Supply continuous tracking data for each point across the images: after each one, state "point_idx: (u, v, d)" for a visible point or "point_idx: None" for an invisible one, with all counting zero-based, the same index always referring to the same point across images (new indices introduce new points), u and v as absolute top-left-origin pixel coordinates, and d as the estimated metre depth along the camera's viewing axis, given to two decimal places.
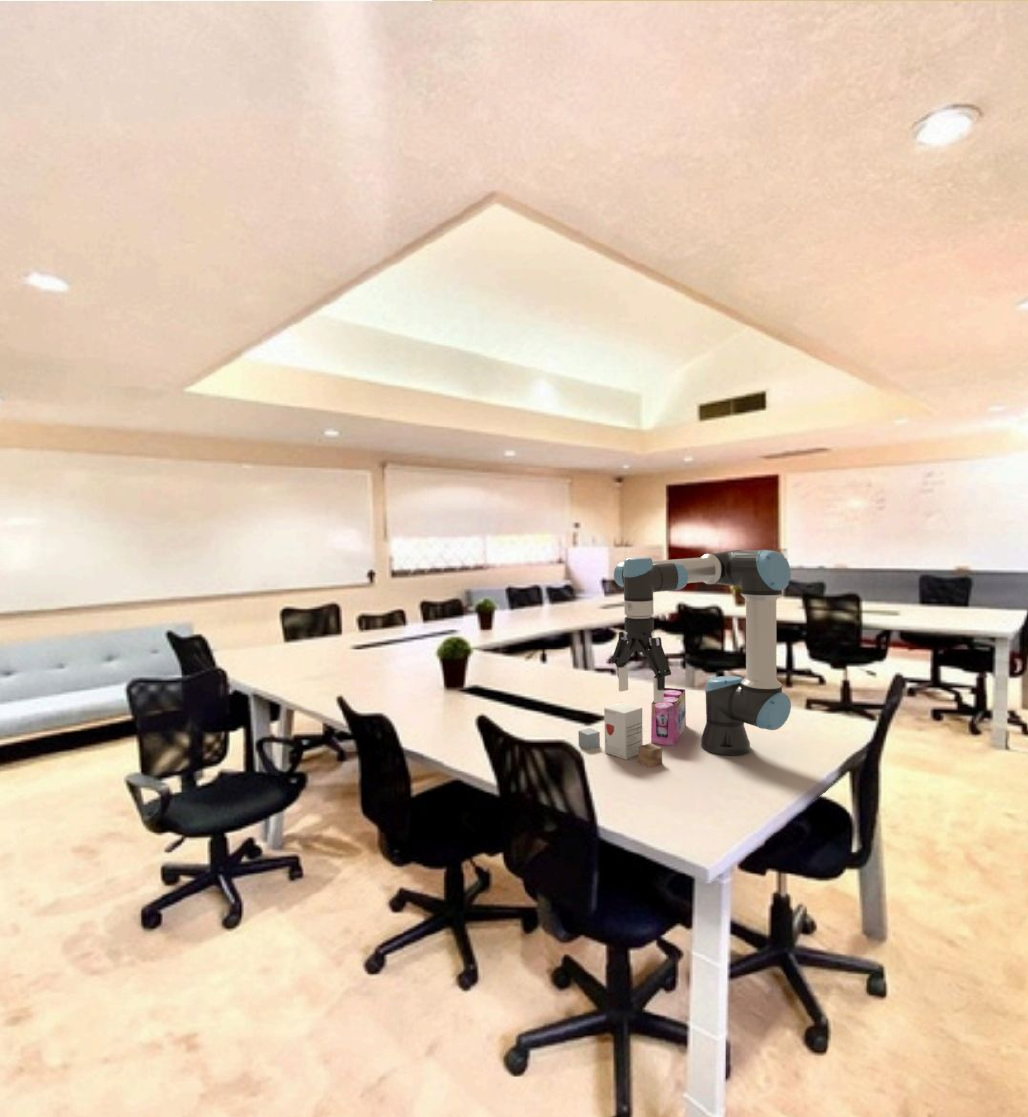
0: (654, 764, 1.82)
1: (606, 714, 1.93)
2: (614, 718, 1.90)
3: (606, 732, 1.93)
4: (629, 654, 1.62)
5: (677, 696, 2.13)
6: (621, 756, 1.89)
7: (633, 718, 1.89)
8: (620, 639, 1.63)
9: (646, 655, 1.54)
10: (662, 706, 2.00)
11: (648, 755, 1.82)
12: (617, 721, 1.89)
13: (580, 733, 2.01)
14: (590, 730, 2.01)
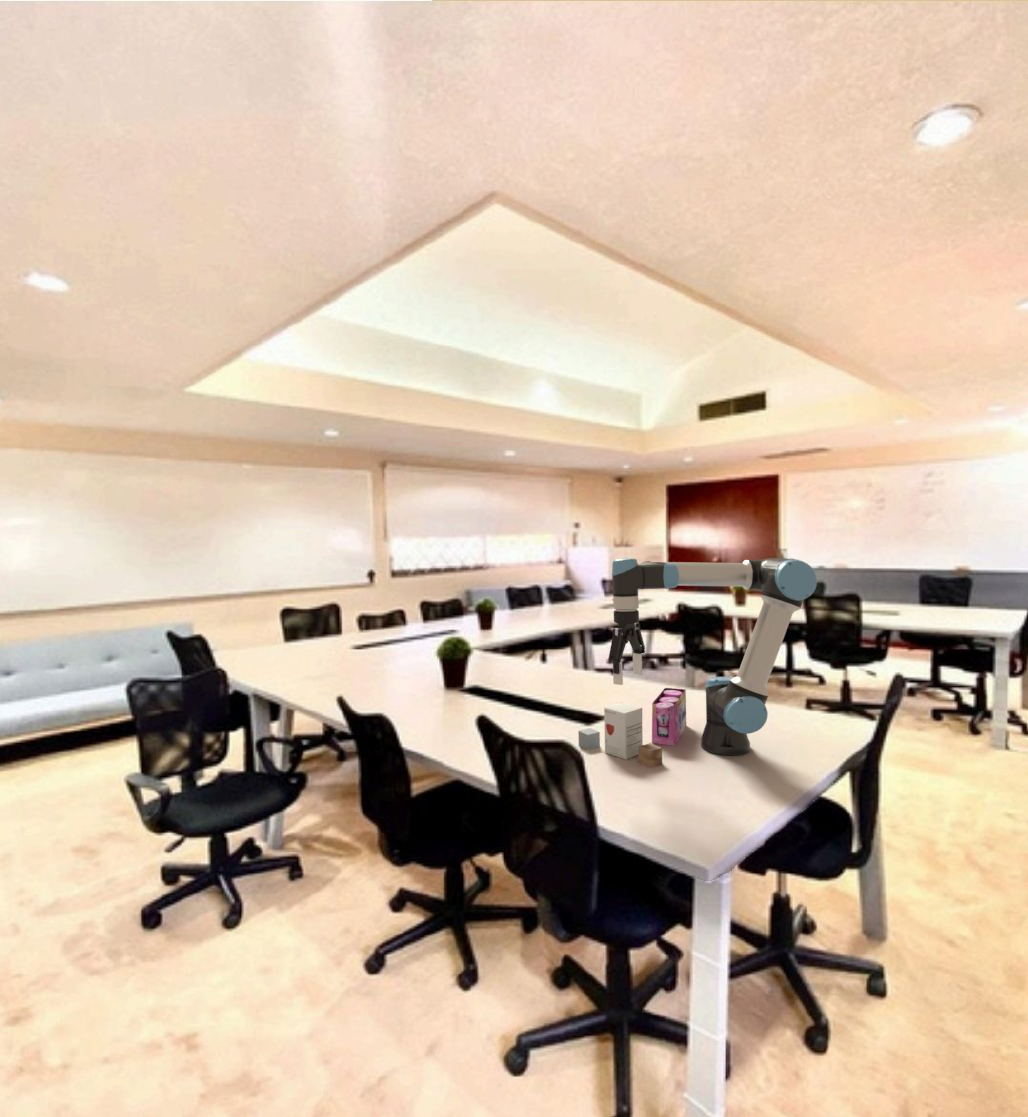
0: (654, 764, 1.82)
1: (606, 714, 1.93)
2: (614, 718, 1.90)
3: (606, 732, 1.93)
4: (634, 643, 1.85)
5: (677, 696, 2.13)
6: (621, 756, 1.89)
7: (633, 718, 1.89)
8: None
9: None
10: (663, 706, 2.00)
11: (648, 755, 1.82)
12: (617, 721, 1.89)
13: (580, 733, 2.00)
14: (590, 730, 2.01)
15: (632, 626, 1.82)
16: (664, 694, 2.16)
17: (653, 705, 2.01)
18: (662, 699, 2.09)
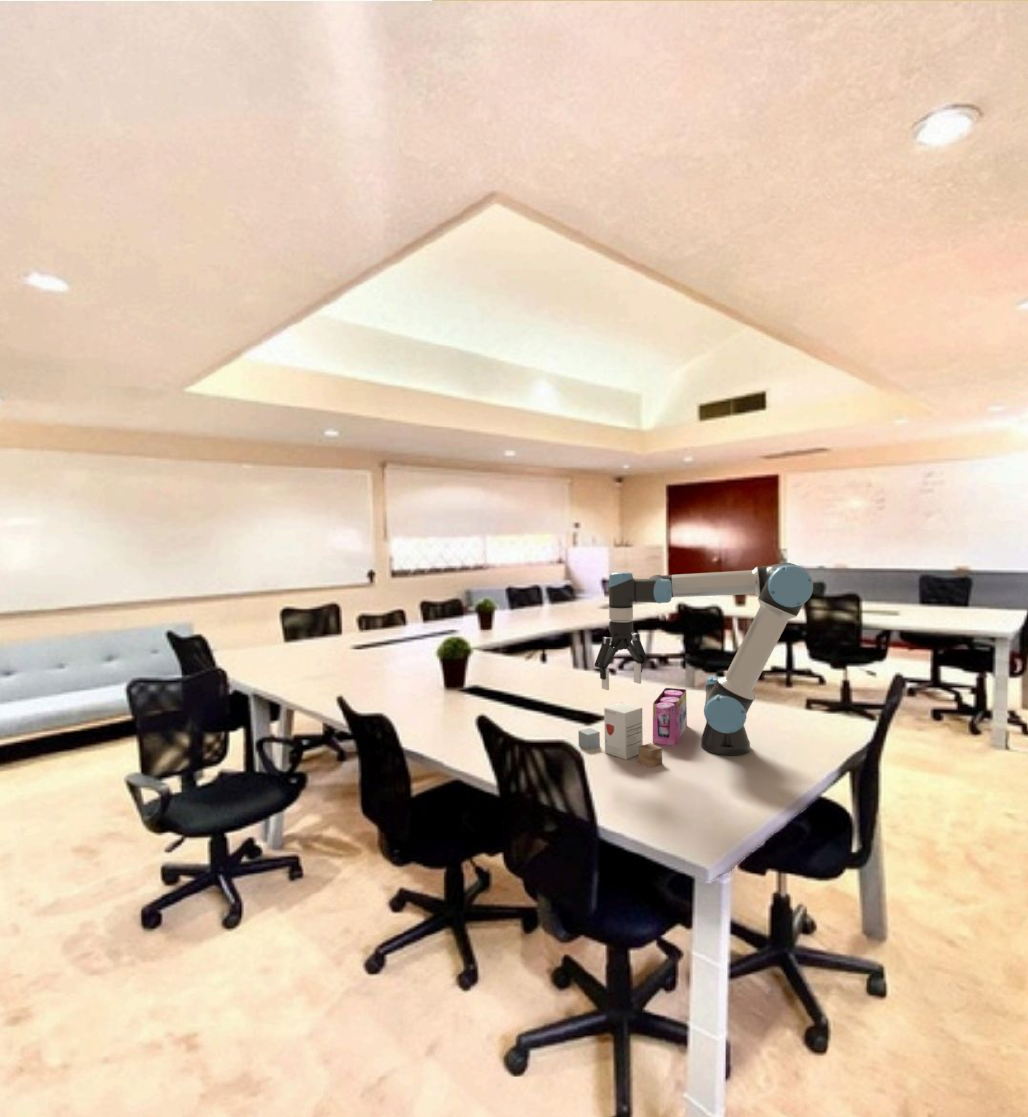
0: (654, 764, 1.82)
1: (606, 714, 1.93)
2: (614, 718, 1.90)
3: (606, 732, 1.93)
4: (632, 652, 1.94)
5: (678, 696, 2.13)
6: (621, 756, 1.89)
7: (633, 718, 1.89)
8: None
9: None
10: (663, 706, 2.00)
11: (648, 755, 1.82)
12: (617, 721, 1.89)
13: (580, 733, 2.00)
14: (590, 730, 2.01)
15: (627, 636, 1.92)
16: (665, 694, 2.16)
17: (654, 705, 2.01)
18: (663, 699, 2.09)
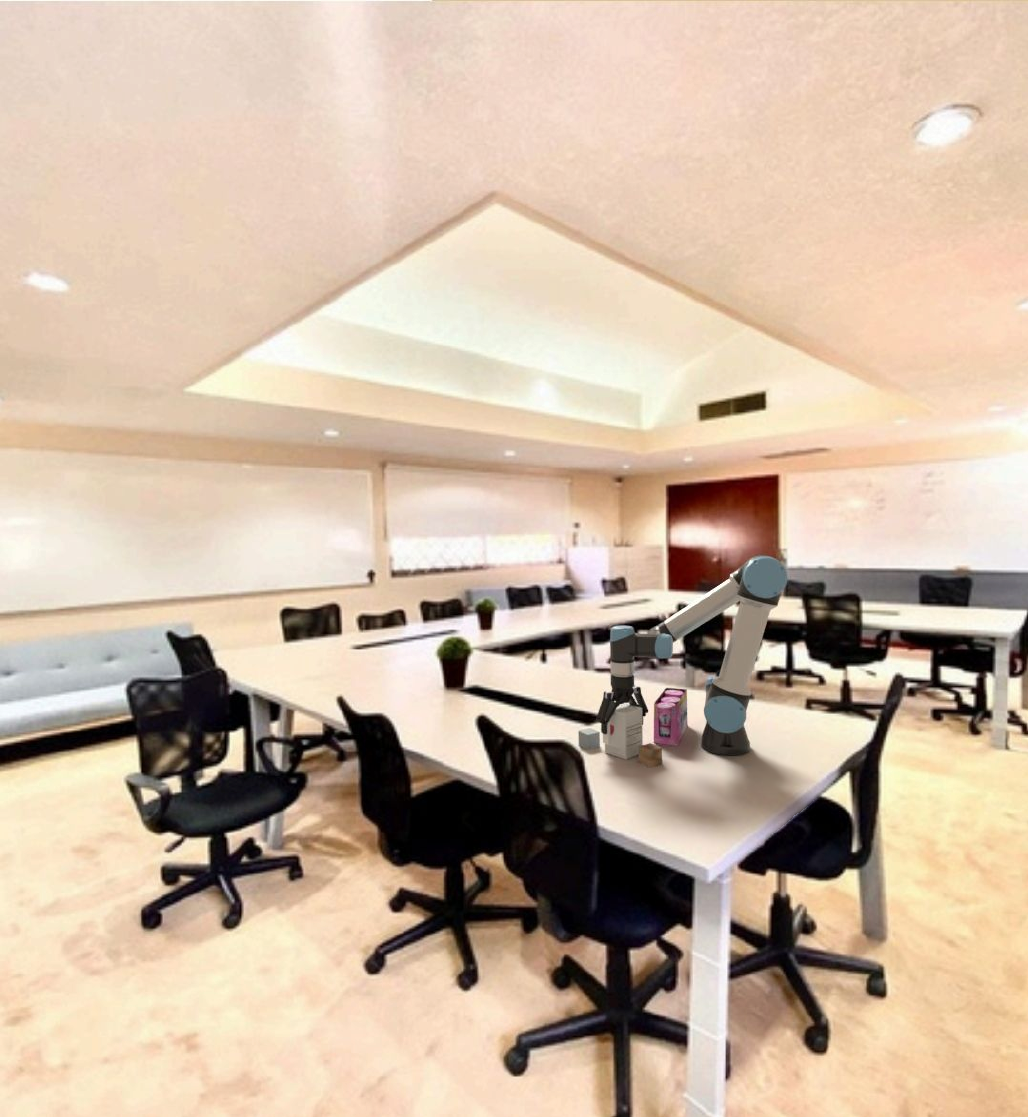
0: (654, 764, 1.82)
1: None
2: (614, 718, 1.90)
3: None
4: (633, 705, 1.95)
5: (679, 696, 2.13)
6: (621, 756, 1.89)
7: (633, 718, 1.89)
8: None
9: None
10: (665, 706, 2.00)
11: (648, 755, 1.82)
12: (617, 721, 1.89)
13: (580, 733, 2.00)
14: (590, 730, 2.01)
15: (628, 690, 1.93)
16: (665, 694, 2.16)
17: (655, 705, 2.01)
18: (663, 699, 2.09)
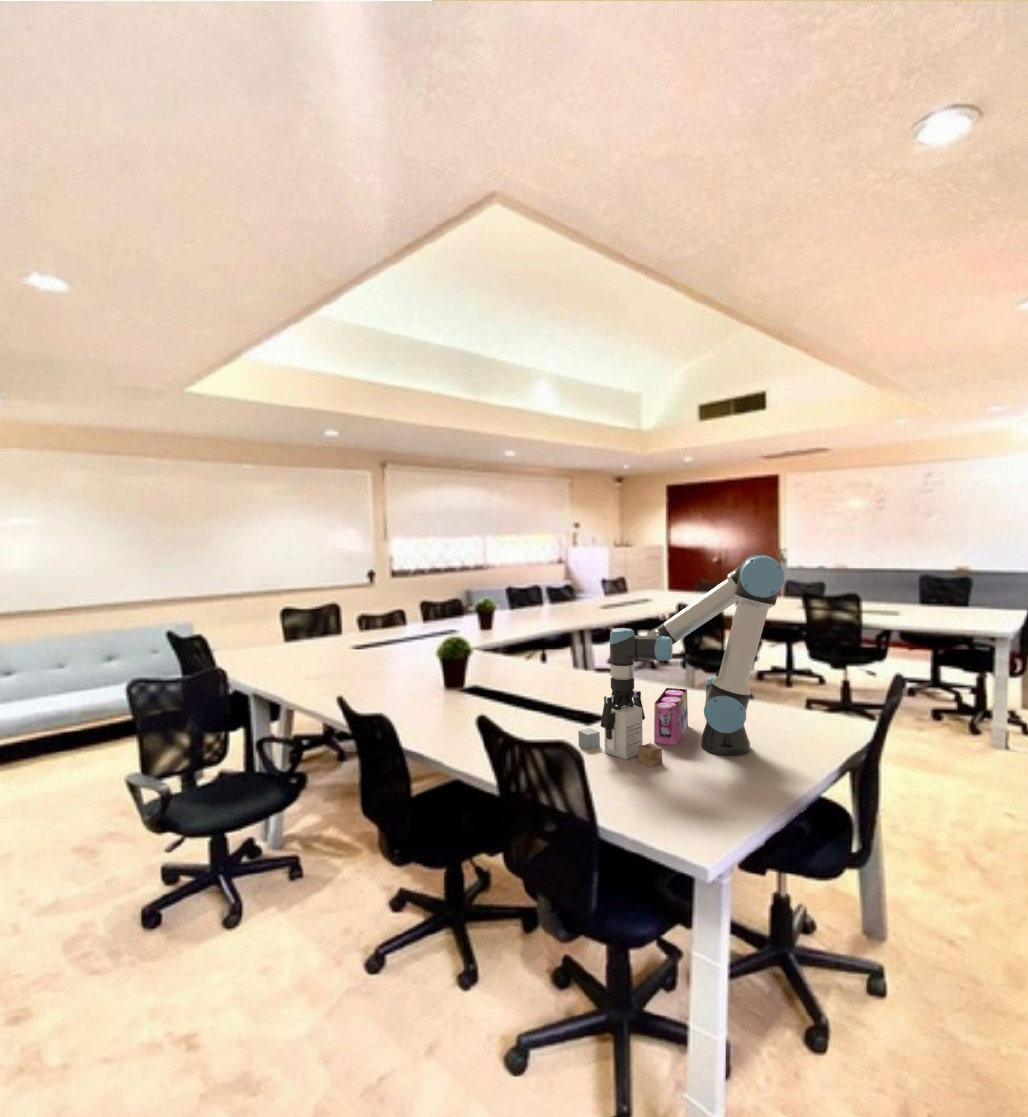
0: (654, 764, 1.82)
1: None
2: None
3: None
4: None
5: (679, 696, 2.13)
6: (621, 756, 1.89)
7: (633, 718, 1.89)
8: None
9: None
10: (665, 706, 2.00)
11: (648, 755, 1.82)
12: (617, 721, 1.89)
13: (580, 733, 2.01)
14: (590, 730, 2.01)
15: (629, 692, 1.93)
16: (666, 694, 2.16)
17: (655, 705, 2.01)
18: (664, 699, 2.09)
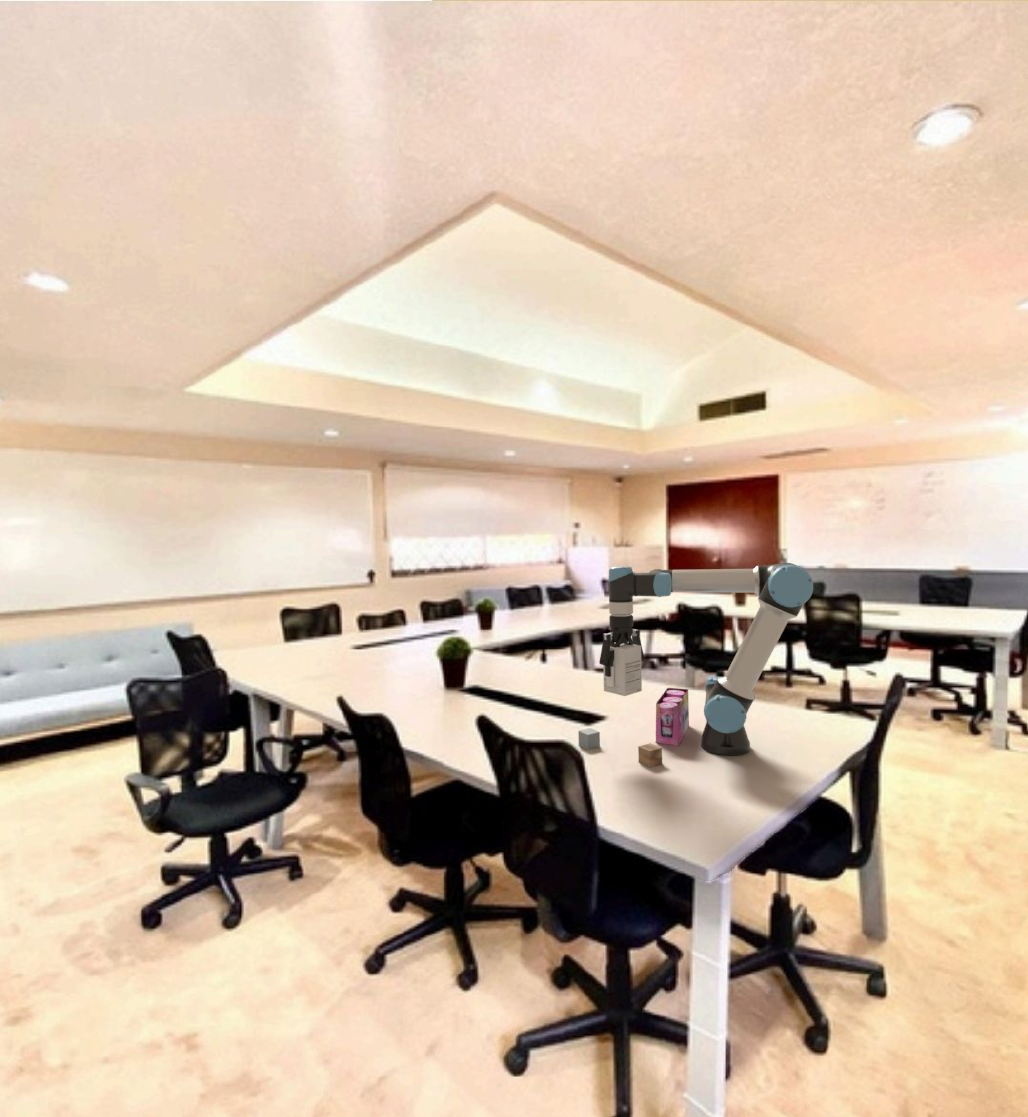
0: (654, 764, 1.82)
1: None
2: None
3: None
4: None
5: (680, 696, 2.13)
6: (620, 693, 1.88)
7: (632, 655, 1.89)
8: None
9: None
10: (667, 706, 2.00)
11: (648, 755, 1.82)
12: (616, 658, 1.88)
13: (580, 733, 2.00)
14: (590, 730, 2.01)
15: (628, 630, 1.92)
16: (667, 694, 2.16)
17: (657, 705, 2.01)
18: (665, 699, 2.09)
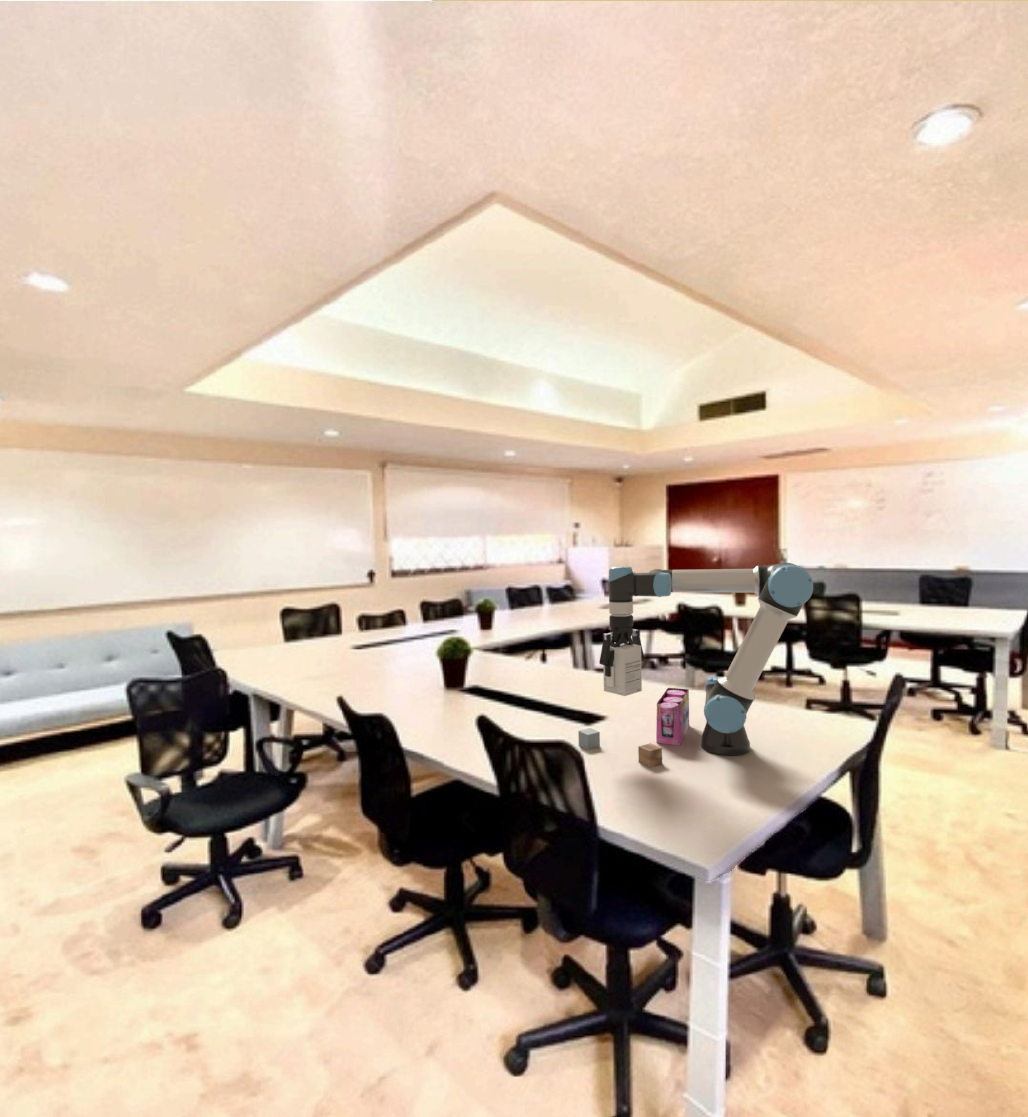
0: (654, 764, 1.82)
1: None
2: None
3: None
4: None
5: (681, 696, 2.13)
6: (620, 693, 1.88)
7: (632, 655, 1.89)
8: None
9: None
10: (667, 706, 2.00)
11: (648, 755, 1.82)
12: (616, 658, 1.88)
13: (580, 733, 2.00)
14: (590, 730, 2.01)
15: (628, 630, 1.92)
16: (667, 694, 2.16)
17: (658, 705, 2.01)
18: (666, 699, 2.09)
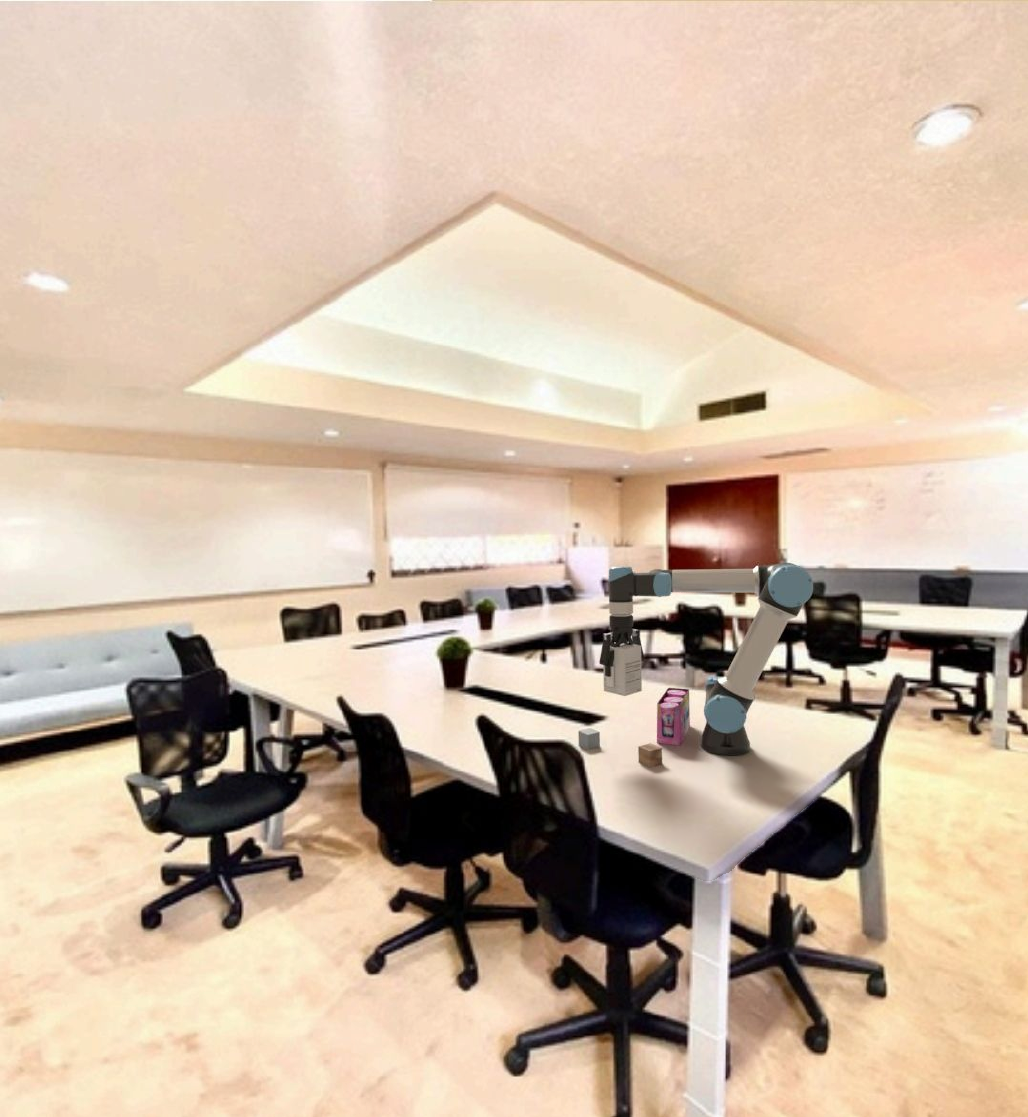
0: (654, 764, 1.82)
1: None
2: None
3: None
4: None
5: (681, 696, 2.13)
6: (620, 693, 1.88)
7: (632, 655, 1.89)
8: None
9: None
10: (668, 706, 2.00)
11: (648, 755, 1.82)
12: (616, 658, 1.88)
13: (580, 733, 2.00)
14: (590, 730, 2.01)
15: (628, 630, 1.92)
16: (668, 694, 2.16)
17: (658, 705, 2.01)
18: (666, 699, 2.09)
